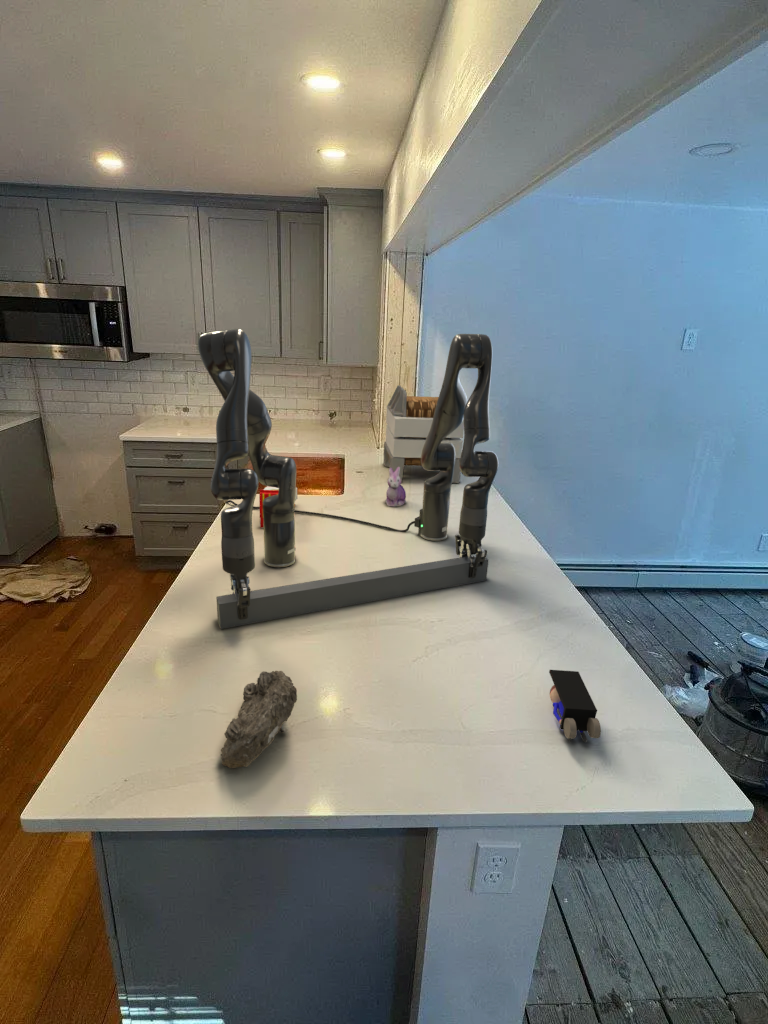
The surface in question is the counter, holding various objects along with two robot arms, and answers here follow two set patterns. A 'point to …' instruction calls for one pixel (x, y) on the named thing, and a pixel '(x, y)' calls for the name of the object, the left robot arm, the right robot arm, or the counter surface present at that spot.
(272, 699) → the fossil
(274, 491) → the toy
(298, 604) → the beam
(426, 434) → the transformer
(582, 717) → the figurine character
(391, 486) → the figurine
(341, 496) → the counter surface
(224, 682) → the counter surface
